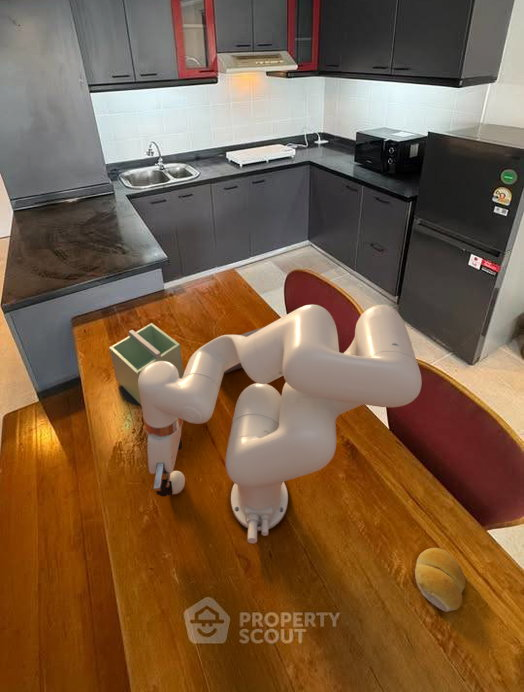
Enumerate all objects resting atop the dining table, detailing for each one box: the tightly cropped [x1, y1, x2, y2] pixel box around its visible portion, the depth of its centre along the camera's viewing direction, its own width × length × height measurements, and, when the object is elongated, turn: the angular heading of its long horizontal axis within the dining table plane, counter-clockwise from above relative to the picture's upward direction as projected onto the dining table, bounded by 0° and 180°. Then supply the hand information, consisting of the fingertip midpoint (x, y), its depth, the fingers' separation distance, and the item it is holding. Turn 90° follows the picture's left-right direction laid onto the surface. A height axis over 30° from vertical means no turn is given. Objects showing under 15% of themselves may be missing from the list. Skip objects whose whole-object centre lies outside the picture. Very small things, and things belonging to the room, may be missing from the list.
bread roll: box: [414, 547, 466, 613], centre depth 71 cm, size 8×9×4 cm
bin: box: [108, 322, 185, 404], centre depth 110 cm, size 14×14×14 cm
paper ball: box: [170, 470, 186, 495], centre depth 85 cm, size 4×4×4 cm
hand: (170, 469), depth 83 cm, fingers open, 9 cm apart
